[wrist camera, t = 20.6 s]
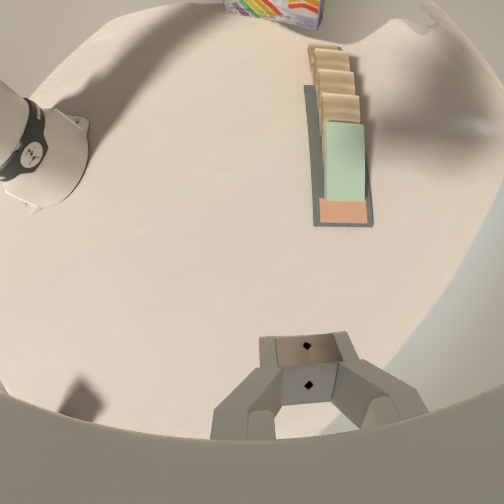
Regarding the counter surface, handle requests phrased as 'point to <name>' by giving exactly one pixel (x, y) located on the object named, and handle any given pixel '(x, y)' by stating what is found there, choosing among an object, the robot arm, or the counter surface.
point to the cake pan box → (280, 11)
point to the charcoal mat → (322, 209)
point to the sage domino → (344, 162)
